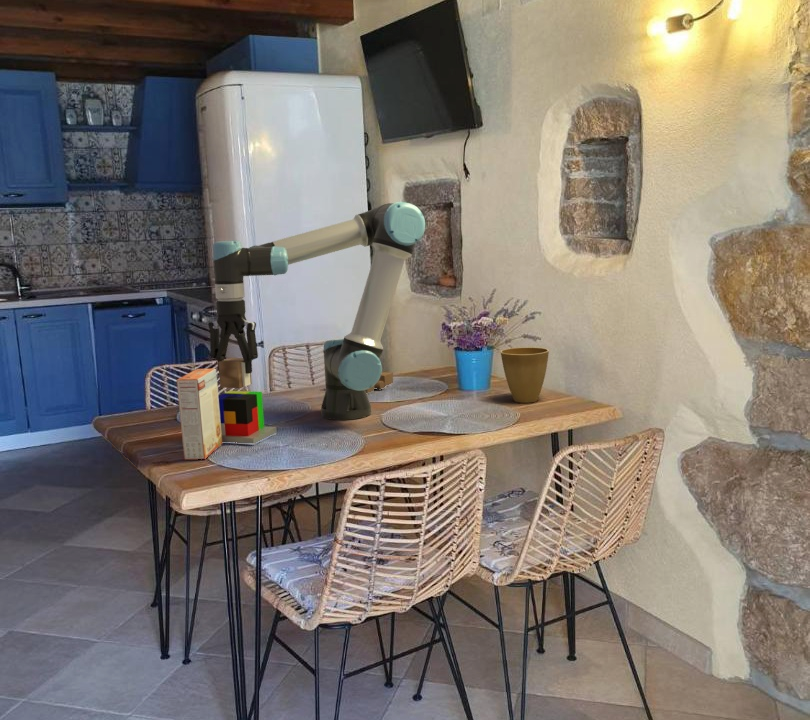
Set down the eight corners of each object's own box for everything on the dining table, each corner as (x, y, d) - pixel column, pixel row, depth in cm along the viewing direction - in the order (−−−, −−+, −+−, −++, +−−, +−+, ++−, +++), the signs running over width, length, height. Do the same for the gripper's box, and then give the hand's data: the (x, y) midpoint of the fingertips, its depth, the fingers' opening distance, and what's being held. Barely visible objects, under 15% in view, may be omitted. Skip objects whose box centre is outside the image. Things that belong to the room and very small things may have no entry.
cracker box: (201, 445, 217) (195, 368, 213) (223, 445, 216) (217, 367, 213) (182, 460, 203) (175, 378, 200) (205, 460, 203) (199, 378, 199)
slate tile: (276, 434, 226) (276, 427, 225) (253, 445, 214) (253, 438, 214) (227, 430, 231) (227, 423, 231) (202, 441, 220) (202, 434, 220)
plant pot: (547, 395, 263) (547, 346, 260) (550, 405, 248) (550, 353, 245) (501, 395, 264) (500, 347, 262) (501, 406, 250) (500, 354, 247)
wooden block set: (369, 379, 272) (325, 376, 281) (369, 396, 273) (326, 392, 282) (395, 370, 286) (352, 367, 295) (396, 386, 287) (353, 382, 296)
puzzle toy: (214, 435, 219) (211, 398, 217) (231, 425, 229) (228, 390, 227) (248, 436, 217) (245, 399, 215) (264, 426, 226) (261, 391, 224)
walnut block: (251, 384, 222) (250, 358, 221) (239, 388, 217) (237, 362, 215) (232, 383, 224) (231, 358, 223) (220, 387, 219) (218, 361, 218)
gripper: (192, 300, 216) (198, 385, 220) (253, 301, 210) (259, 389, 213) (208, 297, 223) (214, 380, 227) (268, 298, 216) (273, 383, 220)
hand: (236, 384), depth 220 cm, fingers closed on walnut block, 6 cm apart
